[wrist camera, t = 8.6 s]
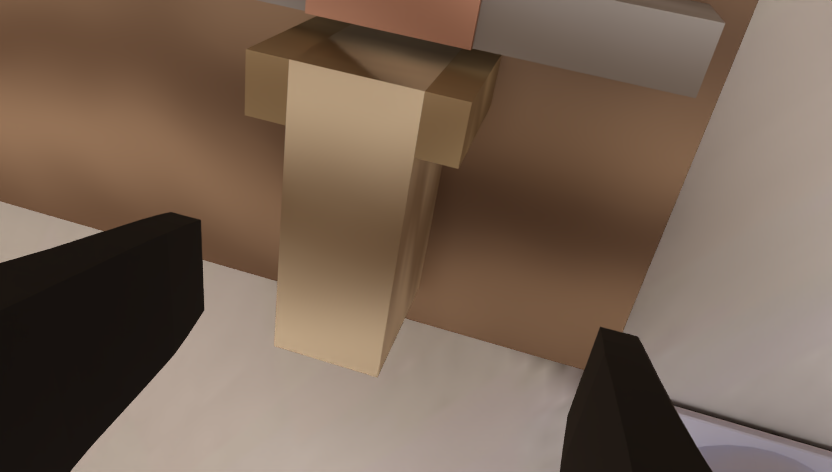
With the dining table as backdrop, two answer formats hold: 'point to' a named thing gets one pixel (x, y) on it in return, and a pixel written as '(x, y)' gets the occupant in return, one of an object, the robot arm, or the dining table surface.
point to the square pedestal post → (360, 174)
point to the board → (458, 188)
